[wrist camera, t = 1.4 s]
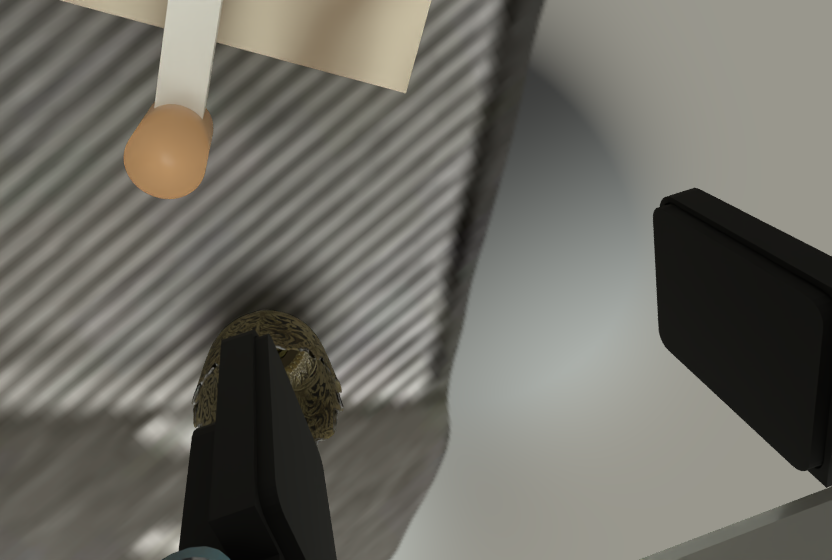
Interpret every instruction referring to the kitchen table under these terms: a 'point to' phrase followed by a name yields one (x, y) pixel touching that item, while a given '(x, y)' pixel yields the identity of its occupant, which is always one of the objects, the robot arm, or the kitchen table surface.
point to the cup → (301, 365)
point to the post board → (311, 32)
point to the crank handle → (178, 105)
